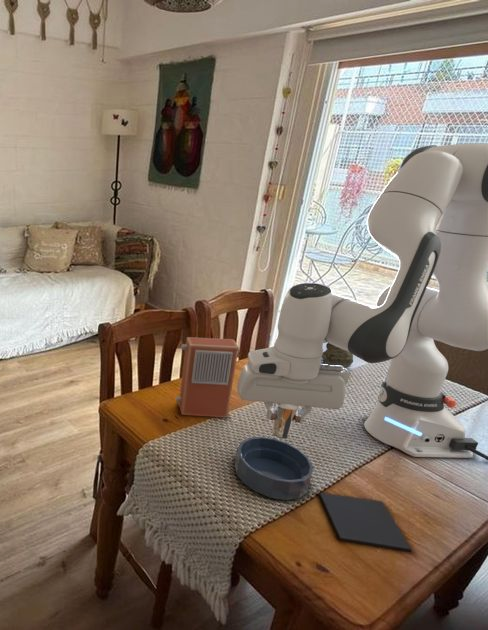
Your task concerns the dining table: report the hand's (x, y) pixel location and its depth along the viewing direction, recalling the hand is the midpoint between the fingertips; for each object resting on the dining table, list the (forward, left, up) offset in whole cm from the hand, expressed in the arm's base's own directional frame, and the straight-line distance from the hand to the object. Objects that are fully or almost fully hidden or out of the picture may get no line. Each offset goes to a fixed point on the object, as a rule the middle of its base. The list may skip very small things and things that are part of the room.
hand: (283, 419), depth 94 cm
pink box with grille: (+13, -24, -15) cm, 31 cm away
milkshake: (0, 0, -4) cm, 4 cm away
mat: (-15, +10, -15) cm, 23 cm away
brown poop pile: (-35, -64, -15) cm, 74 cm away
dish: (0, 0, -15) cm, 15 cm away
